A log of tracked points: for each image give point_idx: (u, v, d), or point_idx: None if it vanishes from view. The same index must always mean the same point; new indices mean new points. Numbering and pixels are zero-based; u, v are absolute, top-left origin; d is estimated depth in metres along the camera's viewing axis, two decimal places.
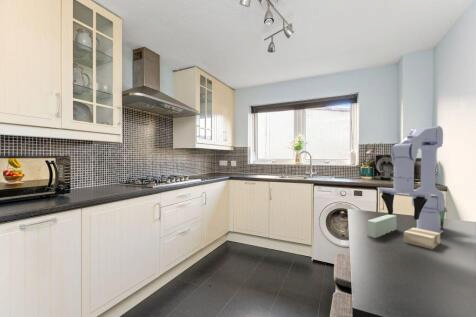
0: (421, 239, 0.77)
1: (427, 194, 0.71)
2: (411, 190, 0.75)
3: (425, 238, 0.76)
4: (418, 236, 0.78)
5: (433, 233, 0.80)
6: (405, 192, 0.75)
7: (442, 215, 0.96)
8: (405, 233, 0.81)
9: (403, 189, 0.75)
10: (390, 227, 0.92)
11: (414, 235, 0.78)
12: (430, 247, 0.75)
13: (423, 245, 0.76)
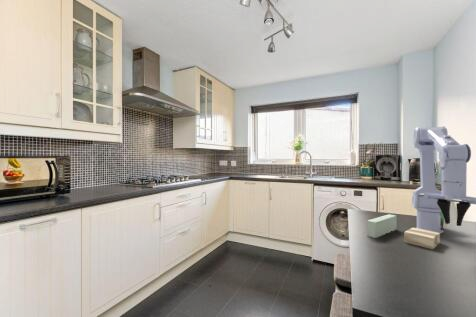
0: (421, 240, 0.77)
1: None
2: (464, 196, 0.68)
3: (426, 238, 0.76)
4: (419, 236, 0.77)
5: (433, 233, 0.80)
6: (457, 198, 0.68)
7: (442, 215, 0.96)
8: (405, 233, 0.80)
9: (455, 194, 0.69)
10: (390, 227, 0.92)
11: (415, 235, 0.78)
12: (431, 247, 0.75)
13: (424, 245, 0.76)
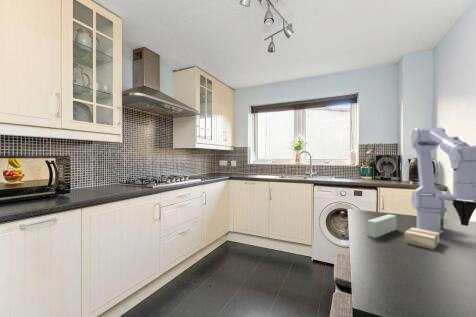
0: (422, 240, 0.77)
1: None
2: None
3: (426, 238, 0.76)
4: (419, 236, 0.77)
5: (433, 233, 0.80)
6: (470, 199, 0.69)
7: (442, 215, 0.96)
8: (406, 233, 0.80)
9: (467, 195, 0.70)
10: (390, 227, 0.92)
11: (415, 235, 0.78)
12: (431, 247, 0.75)
13: (424, 245, 0.76)
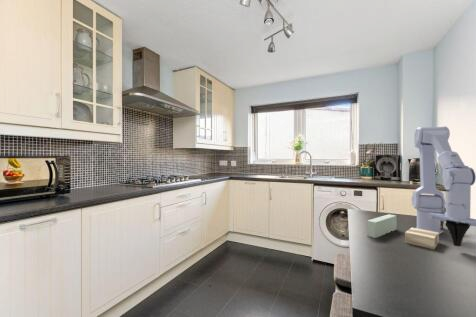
0: (422, 240, 0.77)
1: None
2: (468, 218, 0.70)
3: (427, 238, 0.76)
4: (420, 236, 0.77)
5: (432, 233, 0.80)
6: (462, 220, 0.70)
7: None
8: (406, 233, 0.80)
9: (459, 217, 0.71)
10: (390, 227, 0.92)
11: (415, 235, 0.78)
12: (432, 247, 0.75)
13: (425, 245, 0.76)
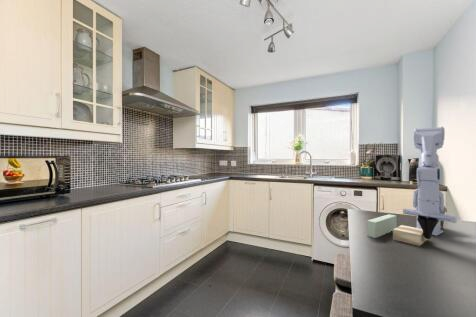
0: (409, 236, 0.80)
1: (453, 218, 0.73)
2: (436, 213, 0.77)
3: (413, 235, 0.79)
4: (406, 233, 0.80)
5: (420, 230, 0.83)
6: (431, 215, 0.77)
7: None
8: (394, 230, 0.83)
9: (428, 212, 0.77)
10: (390, 227, 0.92)
11: (403, 232, 0.81)
12: (418, 244, 0.78)
13: (411, 242, 0.79)
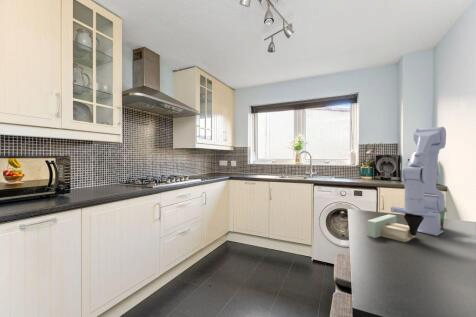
0: (395, 233, 0.83)
1: (437, 215, 0.77)
2: (421, 211, 0.80)
3: (399, 231, 0.82)
4: (393, 229, 0.84)
5: (408, 227, 0.86)
6: (416, 213, 0.80)
7: (442, 215, 0.96)
8: (382, 227, 0.87)
9: (414, 210, 0.80)
10: None
11: (390, 229, 0.85)
12: (403, 239, 0.81)
13: (397, 238, 0.83)
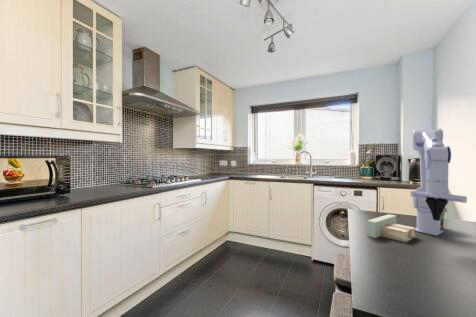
0: (396, 233, 0.83)
1: (463, 198, 0.71)
2: (446, 193, 0.75)
3: (399, 232, 0.82)
4: (393, 230, 0.84)
5: (408, 228, 0.86)
6: (440, 195, 0.75)
7: (442, 215, 0.96)
8: (382, 228, 0.87)
9: (438, 192, 0.75)
10: None
11: (390, 229, 0.85)
12: (404, 240, 0.81)
13: (398, 238, 0.82)
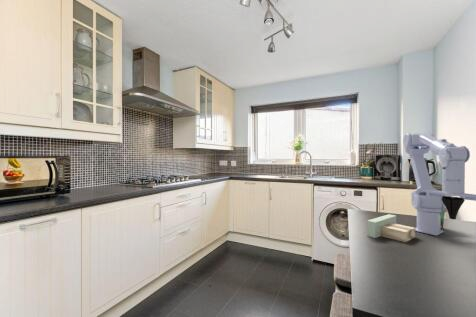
0: (396, 233, 0.83)
1: None
2: (462, 192, 0.76)
3: (399, 232, 0.82)
4: (393, 230, 0.84)
5: (408, 228, 0.86)
6: (457, 194, 0.76)
7: (442, 215, 0.96)
8: (382, 228, 0.87)
9: (454, 191, 0.76)
10: None
11: (390, 229, 0.85)
12: (404, 240, 0.81)
13: (398, 238, 0.82)
